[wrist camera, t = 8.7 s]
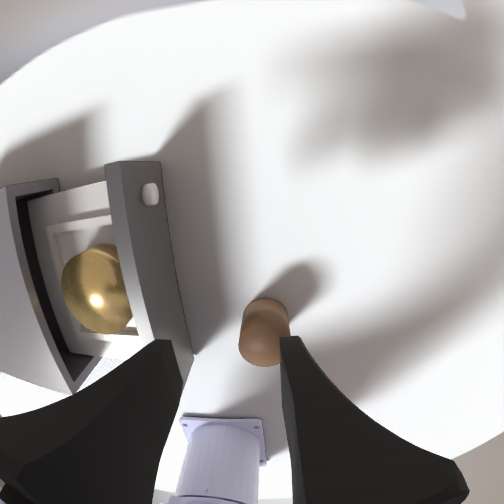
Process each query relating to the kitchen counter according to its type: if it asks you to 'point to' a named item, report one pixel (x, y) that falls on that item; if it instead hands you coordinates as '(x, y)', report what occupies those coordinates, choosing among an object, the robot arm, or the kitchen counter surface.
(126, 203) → the tray
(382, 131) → the kitchen counter surface
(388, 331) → the kitchen counter surface
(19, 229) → the housing
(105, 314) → the disc
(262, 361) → the brown domed cylinder
